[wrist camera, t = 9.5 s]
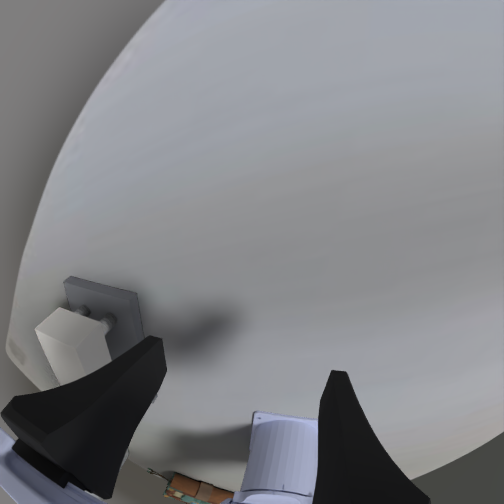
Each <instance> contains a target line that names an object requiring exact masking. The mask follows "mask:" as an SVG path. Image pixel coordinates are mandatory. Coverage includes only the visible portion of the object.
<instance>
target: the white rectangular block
mask: <svg viewBox="0 0 504 504" xmlns="http://www.w3.org/2000/svg"><path fill="white" fill-rule="evenodd" d="M35 331H36V334H37V336H38V339H39V341H40V343H41V346H42V348H43V350H44V352H45V355H46V357H47V359H48V361H49V363H50V365H51V368H52V370H53V372H54V374H55V376H56V378H57V380H58V381H59V383H60V385H61V386H62V385H65V384H68V383H70V382H73V381H75V380H78V379H80V378H82V377H84V376H86V375H88V374H90V373H92V372H94V371H96V370H98V369H99V368H101V367H103V366H104V365H106V364H108V363H110V362H111V361H112V360H111V357H110V353H109V350H108V347H107V343H106V340H105V336H104V333H103V329H102V325H101V322H99V321H96V320H93V319H90V318H87V317H85V316H82V315H79V314H76V313H74V312H71V311H68V310H66V309H63V308H61V307H59V308H57V309H56V310H55V311H54V312H53V313H52V314H51V315H49V316H48V317H47V318H46V319H45V320H44V321H43V322H41V323H40V324H39V325H38V326H37V327H36V328H35Z"/></svg>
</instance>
